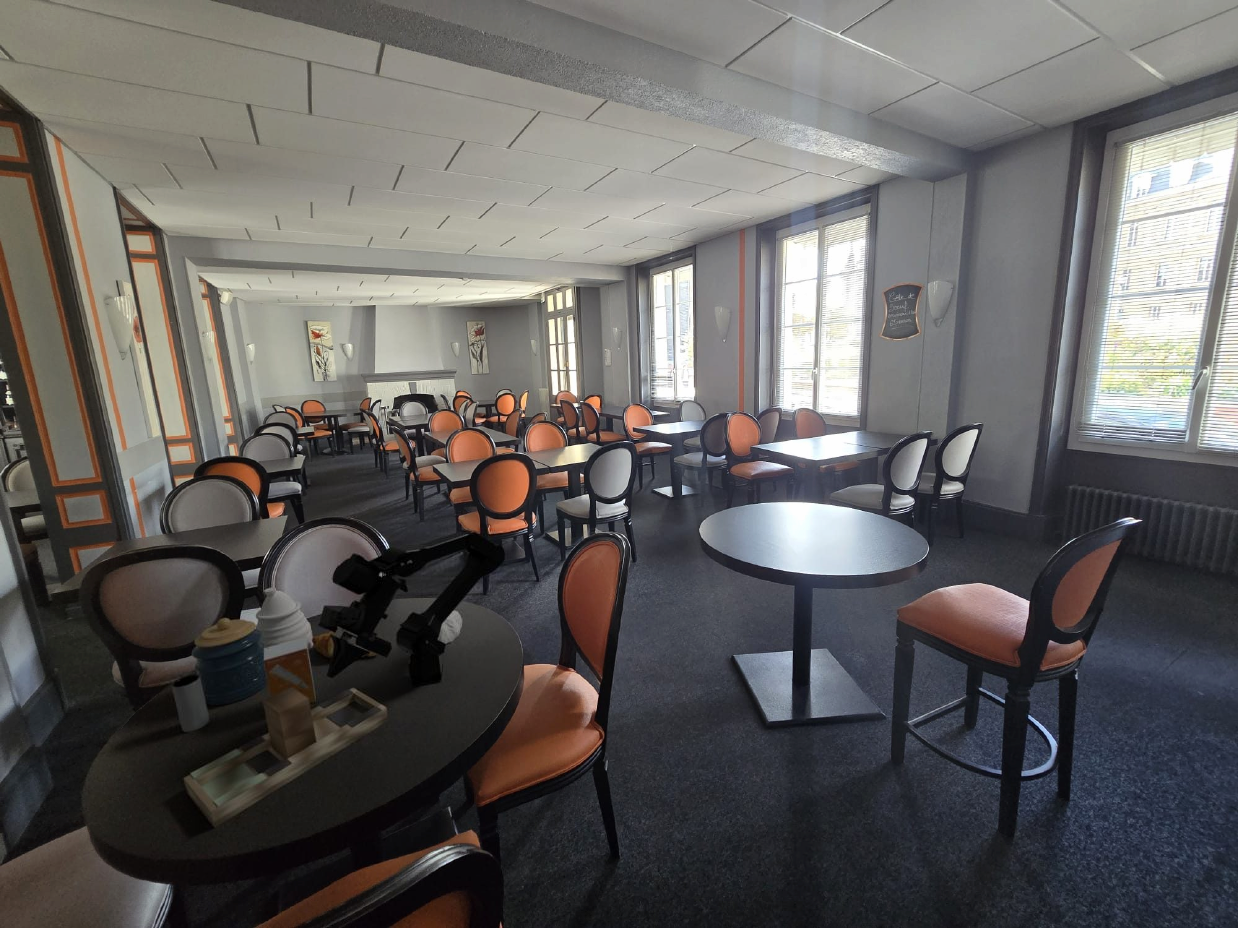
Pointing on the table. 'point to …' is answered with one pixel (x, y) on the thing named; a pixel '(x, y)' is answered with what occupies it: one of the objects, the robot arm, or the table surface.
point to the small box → (289, 668)
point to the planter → (190, 702)
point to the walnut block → (289, 722)
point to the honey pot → (282, 620)
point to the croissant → (329, 645)
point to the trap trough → (280, 758)
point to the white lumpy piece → (450, 628)
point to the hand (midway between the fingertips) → (329, 676)
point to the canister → (230, 661)
